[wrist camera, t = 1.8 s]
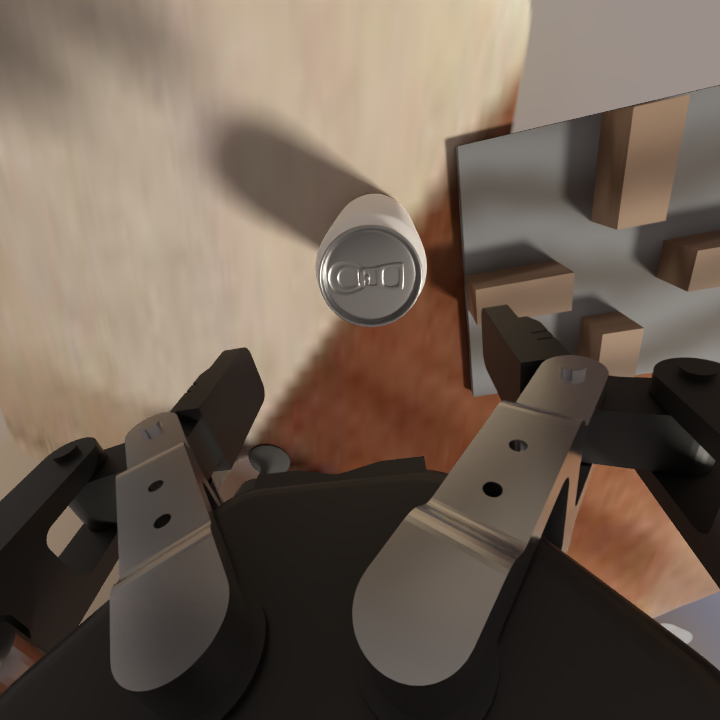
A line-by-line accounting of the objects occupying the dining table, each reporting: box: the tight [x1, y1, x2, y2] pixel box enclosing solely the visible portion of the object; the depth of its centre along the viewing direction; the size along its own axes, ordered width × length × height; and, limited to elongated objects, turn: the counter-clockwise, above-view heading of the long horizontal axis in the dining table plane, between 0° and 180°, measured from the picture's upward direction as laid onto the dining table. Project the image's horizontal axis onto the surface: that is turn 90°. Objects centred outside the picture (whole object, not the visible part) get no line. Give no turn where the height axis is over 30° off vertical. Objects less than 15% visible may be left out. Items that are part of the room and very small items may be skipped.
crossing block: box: [455, 85, 720, 397], centre depth 28 cm, size 22×22×4 cm
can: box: [316, 194, 427, 327], centre depth 25 cm, size 6×6×12 cm
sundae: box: [234, 445, 290, 497], centre depth 37 cm, size 7×7×15 cm
